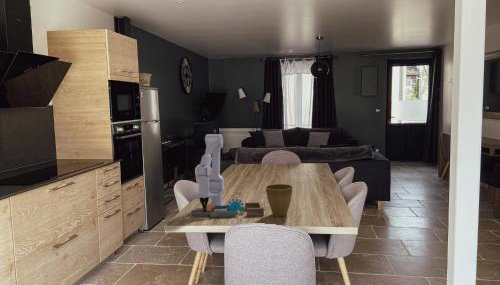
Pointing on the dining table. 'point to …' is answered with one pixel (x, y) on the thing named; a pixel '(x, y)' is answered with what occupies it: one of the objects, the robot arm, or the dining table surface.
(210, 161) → the robot arm
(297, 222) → the dining table surface
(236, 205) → the gear
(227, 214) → the socket
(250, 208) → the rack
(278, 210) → the plant pot
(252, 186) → the dining table surface
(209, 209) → the orange block
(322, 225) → the dining table surface
